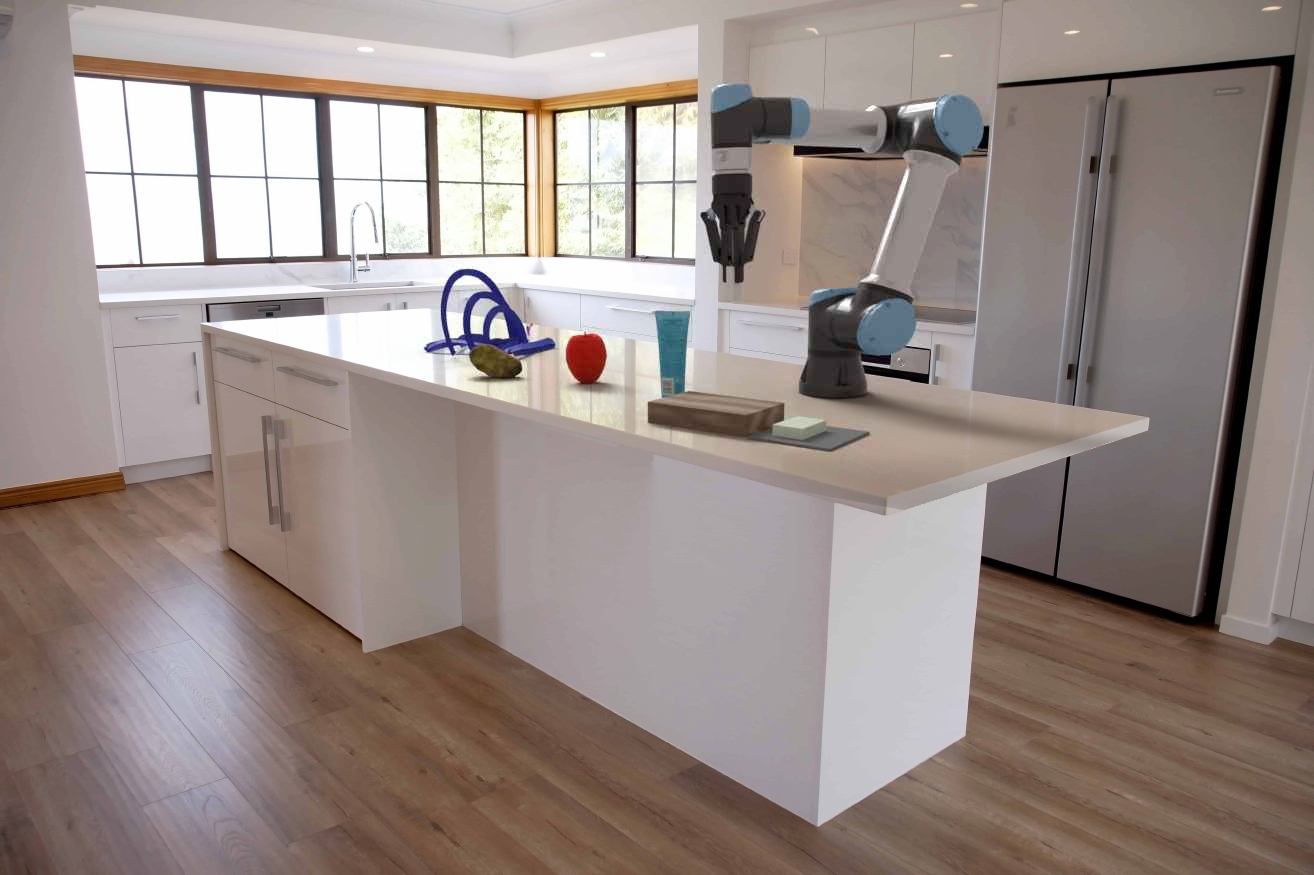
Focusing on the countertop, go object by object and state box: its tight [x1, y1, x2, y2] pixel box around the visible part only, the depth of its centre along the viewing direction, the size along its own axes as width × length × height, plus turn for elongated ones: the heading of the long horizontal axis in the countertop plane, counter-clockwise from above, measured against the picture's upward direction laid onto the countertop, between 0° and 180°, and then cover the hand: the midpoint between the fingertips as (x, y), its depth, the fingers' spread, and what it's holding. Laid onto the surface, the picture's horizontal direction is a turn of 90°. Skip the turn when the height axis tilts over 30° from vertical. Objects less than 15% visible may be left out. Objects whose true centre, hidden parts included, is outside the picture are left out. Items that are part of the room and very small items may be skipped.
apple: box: [565, 331, 608, 384], centre depth 228 cm, size 10×10×12 cm
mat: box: [747, 425, 871, 452], centre depth 173 cm, size 16×16×1 cm
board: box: [647, 390, 786, 438], centre depth 184 cm, size 14×22×4 cm, turn 54°
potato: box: [468, 344, 523, 379], centre depth 237 cm, size 8×13×8 cm, turn 57°
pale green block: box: [772, 415, 827, 440], centre depth 173 cm, size 9×6×2 cm, turn 143°
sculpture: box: [423, 268, 556, 357], centre depth 282 cm, size 35×34×26 cm
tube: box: [654, 310, 691, 398], centre depth 204 cm, size 7×5×19 cm, turn 90°
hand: (733, 300), depth 184 cm, fingers closed
